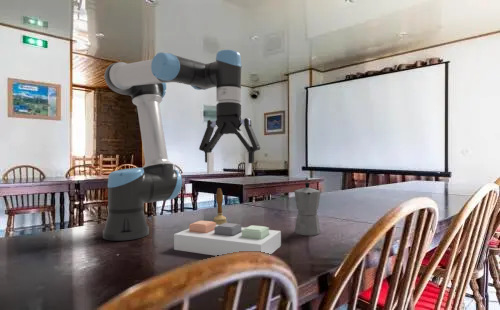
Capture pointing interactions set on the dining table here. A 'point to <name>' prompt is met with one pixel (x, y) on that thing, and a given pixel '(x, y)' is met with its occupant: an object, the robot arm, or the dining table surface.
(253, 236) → the sage key
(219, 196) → the hand bell
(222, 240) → the white button panel
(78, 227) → the dining table surface
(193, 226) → the terracotta key
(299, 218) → the coffeepot
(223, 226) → the charcoal key
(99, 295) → the dining table surface
